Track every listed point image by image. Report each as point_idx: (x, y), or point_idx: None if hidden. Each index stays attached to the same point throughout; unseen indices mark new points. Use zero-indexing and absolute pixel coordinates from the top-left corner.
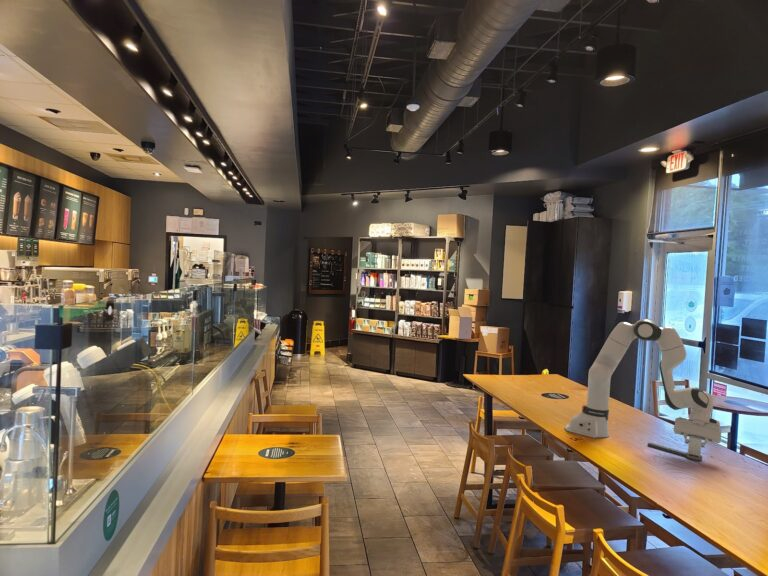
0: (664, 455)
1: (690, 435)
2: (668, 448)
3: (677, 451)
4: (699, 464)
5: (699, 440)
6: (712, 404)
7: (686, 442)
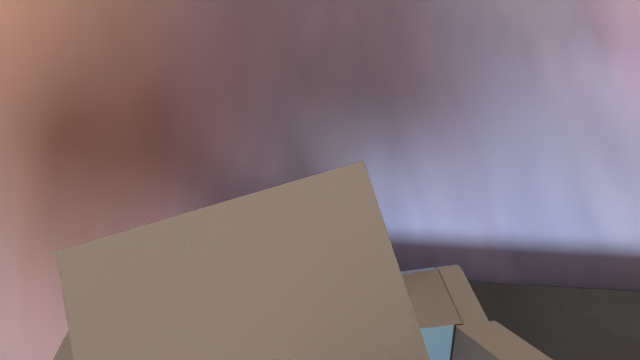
0: (543, 122)
1: None
2: (615, 324)
3: (489, 298)
4: (201, 155)
5: (130, 240)
6: None
7: (421, 273)
